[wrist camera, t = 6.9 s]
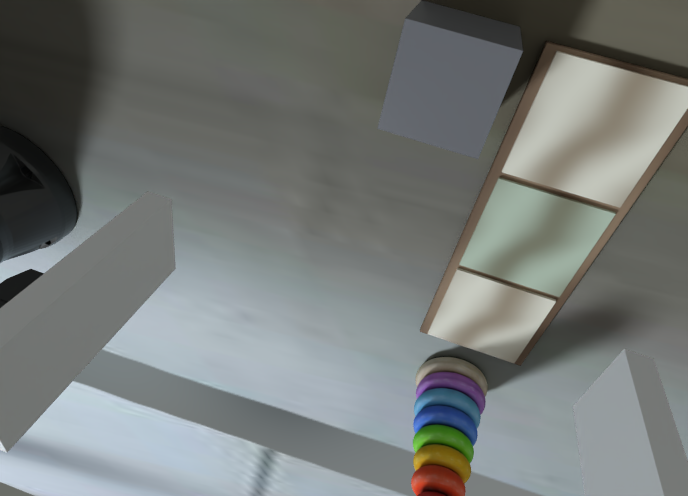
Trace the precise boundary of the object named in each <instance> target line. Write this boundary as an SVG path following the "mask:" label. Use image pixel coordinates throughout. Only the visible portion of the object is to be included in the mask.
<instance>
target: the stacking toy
mask: <svg viewBox="0 0 688 496" xmlns="http://www.w3.org/2000/svg"><path fill="white" fill-rule="evenodd" d="M416 385H417V390H416V398H417V400H416V402H415V406H414V413H415V416H416V417H415V419H414V431H415V436H414V440H413V447H414V450H415V455H414V460H413V463H414V467H415V470H416V471H415V473H414V474H413V477H412V481H411V484H412V489H413V491H414V493H415V494H416V495H417V496H465V486H464V483H465V482H467V480H468V479H469V477H470V473H471V467H470V462H471V461H472V459H473V455H474V450H473V445H474V444H475V442H476V440H477V428H478V426H479V423H480V415H481V414H482V412H483V410H484V408H485V396H486V393H487V381H486V378H485V376H484V375H483V373H482V372H481V371H480V370H479V369H478V368H477V367H476V366H474V365H473V364H471V363H469V362H467V361H464V360H462V359H458V358H453V357H439V358H434V359H431V360H429V361H427V362H425V363H424V364H423V365H422V366H421V367H420V368H419V370H418V372H417V374H416Z"/></svg>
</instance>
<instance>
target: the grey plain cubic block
mask: <svg viewBox="0 0 688 496" xmlns="http://www.w3.org/2000/svg"><path fill="white" fill-rule="evenodd" d="M522 52H523V46H522V38H521V30H520V27H519V26H515V25H512V24H508V23H504V22H501V21H497V20H493V19H490V18H486V17H482V16H478V15H475V14H471V13H467V12H464V11H460V10H456V9H453V8H449V7H445V6H442V5H438V4H434V3H431V2H427V1H423V0H421V2H420V3H419V4H418V5H417V6H416V7H415V8H414V9H413V10H412V12H411V13H410V14H409V15H408V16H407V17H406V18H405V22H404V26H403V30H402V34H401V38H400V42H399V46H398V49H397V53H396V57H395V61H394V65H393V69H392V73H391V77H390V81H389V85H388V89H387V93H386V97H385V101H384V105H383V109H382V113H381V117H380V121H379V125H378V128H377V129H380V130H384V131H387V132H390V133H393V134H397V135H400V136H403V137H407V138H410V139H413V140H417V141H420V142H423V143H426V144H430V145H433V146H436V147H440V148H443V149H446V150H449V151H453V152H456V153H459V154H463V155H466V156H469V157H473V158H476V159H478V158H479V155H480V153H481V151H482V148H483V146H484V143H485V141H486V139H487V136H488V134H489V131H490V129H491V127H492V124H493V122H494V119H495V117H496V115H497V112H498V110H499V107H500V105H501V103H502V100H503V98H504V96H505V93H506V91H507V88H508V86H509V84H510V81H511V79H512V76H513V74H514V72H515V69H516V67H517V64H518V62H519V60H520V57H521V55H522Z"/></svg>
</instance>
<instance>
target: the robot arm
mask: <svg viewBox="0 0 688 496" xmlns="http://www.w3.org/2000/svg"><path fill="white" fill-rule="evenodd" d="M76 218H77V210H76V204H75V200H74V197H73V194H72V192H71V190H70V187H69V186H68V184H67V182H66V180H65V178H64V177H63V175H62V174H61V173H60V171H59V170H58V168H57V167H56V166H55V165H54V163H53V162H52V161H51V160H50V159H49V158H48V157H47V156H46V155H45V154H44V153H43V152H42V151H41V150H40V149H39V148H38V147H36V146H35V145H34V144H33V143H31V142H30V141H29V140H27V139H26V138H24V137H23V136H21V135H19V134H18V133H16V132H14V131H12V130H10V129H8V128H5V127H2V126H0V263H1V262H3V261H5V260H8V259H11V258H14V257H18V256H21V255H24V254H27V253H30V252H33V251H35V250H38V249H42V248H46V247H49V246H51V245H53V244H55V243H57V242H58V241H59V240H61V239H62V238H63V237H65V236H66V235H68V234H69V233H70V232H71V231H72V230H73V228H74V226H75V223H76ZM175 269H176V268H175V251H174V234H173V216H172V199H170V198H167V197H164V196H161V195H157V194H154V193H151V192H146V193H145V194H144V195H143V196H141V197H140V198H139V199H137V200H136V201H135V202H134V203H132V204H131V205H130V206H129V207H127V208H126V209H125V210H124V211H122V212H121V213H120V214H119V215H117V216H116V217H115V218H114V219H112V220H111V221H110V222H108V223H107V224H106V225H105V226H103V227H102V228H101V229H100V230H98V231H97V232H96V233H95V234H93V235H92V236H91V237H90V238H88V239H87V240H86V241H85V242H83V243H82V244H81V245H79V246H78V247H77V248H76V249H74V250H73V251H72V252H71V253H69V254H68V255H67V256H66V257H64V258H63V259H62V260H61V261H59V262H58V263H57V264H55V265H54V266H53V267H52V268H50V269H49V270H48V271H47V272H45V273H41V272H38V271H35V270H33V269H29V270H27V271H25V272H22V273H20V274H17V275H15V276H13V277H10V278H8V279H6V280H4V281H3V282H2V283H0V450H2V451H4V452H8V451H9V450H10V449H11V448H12V447H13V446H14V445H15V443H16V442H17V441H18V440H19V439H20V438H21V437H22V436H23V435H24V434H25V433H26V431H27V430H28V429H29V428H30V427H31V426H32V425H33V424H34V423H35V422H36V421H37V419H38V418H39V417H40V416H41V415H42V414H43V413H44V412H45V411H46V410H47V408H48V407H49V406H50V405H51V404H52V403H53V402H54V401H55V400H56V399H57V398H58V396H59V395H60V394H61V393H62V392H63V391H64V390H65V389H66V388H67V387H68V386H69V384H70V383H71V382H72V381H73V380H74V379H75V378H76V377H77V375H78V374H79V373H80V372H81V371H82V370H83V369H84V368H85V367H86V366H87V365H88V364H89V362H90V361H91V360H92V359H93V358H94V357H95V356H96V355H97V353H99V352H100V351H101V349H102V348H103V347H104V346H105V345H106V344H107V343H108V342H109V341H110V340H111V339H112V337H113V336H114V335H115V334H116V333H117V332H118V331H119V330H120V329H121V328H122V326H123V325H124V324H125V323H126V322H127V321H128V320H129V319H130V318H131V317H132V316H133V314H134V313H135V312H136V311H137V310H138V309H139V308H140V307H141V306H142V305H143V304H144V302H145V301H146V300H147V299H148V298H149V297H150V296H151V295H152V294H153V293H154V291H155V290H156V289H157V288H158V287H159V286H160V285H161V284H162V283H163V282H164V281H165V279H166V278H167V277H168V276H169V275H170V274H171V273H172V272H173V271H174V270H175ZM573 410H574V418H575V425H576V433H577V440H578V447H579V455H580V462H581V469H582V477H583V484H584V491H585V496H688V461H687V457H686V454H685V451H684V448H683V445H682V442H681V439H680V436H679V433H678V430H677V427H676V424H675V421H674V418H673V415H672V412H671V409H670V406H669V403H668V400H667V397H666V394H665V391H664V388H663V385H662V382H661V379H660V376H659V373H658V370H657V367H656V364H655V361H654V358H651V357H648V356H645V355H642V354H639V353H636V352H633V351H630V350H627V349H624V350H623V351H622V352H621V353H620V354H619V355H618V356H617V357H616V359H615V360H614V361H613V362H612V363H611V364H610V365H609V366H608V367H607V369H606V370H605V371H604V372H603V373H602V374H601V375H600V376H599V378H598V379H597V380H596V381H595V382H594V383H593V384H592V385H591V387H590V388H589V389H588V390H587V391H586V392H585V393H584V394H583V395H582V397H581V398H580V399H579V400H578V401H577V402H576V403H575V404H574V406H573Z"/></svg>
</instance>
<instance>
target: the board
mask: <svg viewBox="0 0 688 496" xmlns="http://www.w3.org/2000/svg"><path fill="white" fill-rule="evenodd" d="M687 126H688V79H686V78H682V77H679V76H675V75H671V74H668V73H664V72H660V71H656V70H653V69H649V68H645V67H642V66H638V65H634V64H630V63H627V62H623V61H619V60H615V59H612V58H608V57H604V56H601V55H597V54H593V53H589V52H586V51H582V50H578V49H575V48H571V47H567V46H563V45H560V44H556V43H552V42H549V41H546V43H545V45H544V48H543V50H542V52H541V54H540V57H539V59H538V61H537V64H536V66H535V68H534V70H533V73H532V75H531V77H530V79H529V82H528V84H527V86H526V89H525V91H524V93H523V95H522V98H521V100H520V102H519V105H518V107H517V109H516V111H515V114H514V116H513V118H512V121H511V123H510V125H509V127H508V130H507V132H506V134H505V136H504V139H503V141H502V143H501V146H500V148H499V150H498V152H497V155H496V157H495V159H494V162H493V164H492V166H491V168H490V171H489V173H488V175H487V178H486V180H485V182H484V184H483V187H482V189H481V191H480V194H479V196H478V198H477V200H476V203H475V205H474V207H473V209H472V212H471V214H470V216H469V219H468V221H467V223H466V225H465V228H464V230H463V232H462V235H461V237H460V239H459V241H458V244H457V246H456V248H455V251H454V253H453V255H452V257H451V260H450V262H449V264H448V267H447V269H446V271H445V273H444V276H443V278H442V280H441V282H440V285H439V287H438V289H437V292H436V294H435V296H434V298H433V301H432V303H431V305H430V308H429V310H428V312H427V314H426V317H425V319H424V321H423V324H422V326H421V329H420V332H423V333H426V334H429V335H432V336H435V337H438V338H441V339H443V340H446V341H449V342H452V343H455V344H458V345H461V346H464V347H467V348H470V349H473V350H476V351H479V352H481V353H484V354H487V355H490V356H493V357H496V358H499V359H502V360H505V361H508V362H511V363H514V364H517V365H520V366H521V364H522V363H523V361H524V360H525V358H526V357H527V356H528V354H529V353H530V351H531V350H532V348H533V347H534V345H535V344H536V343H537V341H538V340H539V338H540V337H541V335H542V334H543V333H544V331H545V330H546V328H547V327H548V325H549V324H550V323H551V321H552V320H553V318H554V317H555V315H556V314H557V312H558V311H559V310H560V308H561V307H562V305H563V304H564V302H565V301H566V300H567V298H568V297H569V295H570V294H571V292H572V291H573V290H574V288H575V287H576V285H577V284H578V282H579V281H580V279H581V278H582V277H583V275H584V274H585V272H586V271H587V269H588V268H589V267H590V265H591V264H592V262H593V261H594V259H595V258H596V257H597V255H598V254H599V252H600V251H601V249H602V248H603V246H604V245H605V244H606V242H607V241H608V239H609V238H610V236H611V235H612V234H613V232H614V231H615V229H616V228H617V226H618V225H619V224H620V222H621V221H622V219H623V218H624V216H625V215H626V213H627V212H628V211H629V209H630V208H631V206H632V205H633V203H634V202H635V201H636V199H637V198H638V196H639V195H640V193H641V192H642V191H643V189H644V188H645V186H646V185H647V183H648V182H649V180H650V179H651V178H652V176H653V175H654V173H655V172H656V170H657V169H658V168H659V166H660V165H661V163H662V162H663V160H664V159H665V158H666V156H667V155H668V153H669V152H670V150H671V149H672V147H673V146H674V145H675V143H676V142H677V140H678V139H679V137H680V136H681V135H682V133H683V132H684V130H685V129H686V127H687Z"/></svg>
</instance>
